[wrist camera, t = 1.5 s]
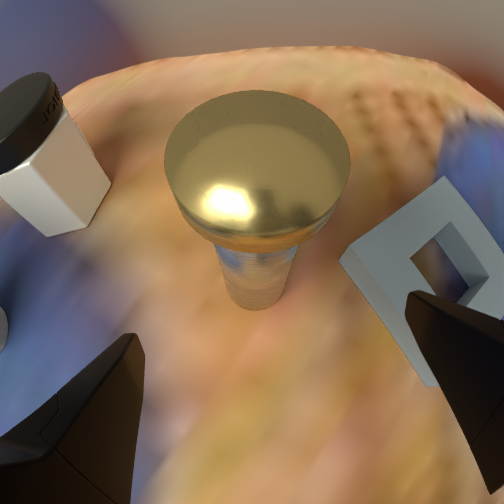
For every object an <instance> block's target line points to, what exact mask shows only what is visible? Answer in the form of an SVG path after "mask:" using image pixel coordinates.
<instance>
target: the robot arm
mask: <svg viewBox="0 0 504 504" xmlns="http://www.w3.org/2000/svg"><path fill="white" fill-rule="evenodd" d="M405 319H406V321H407V323H408V325H409V327H410V330H411V332H412V334H413V336H414V338H415V341H416V343H417V345H418V347H419V349H420V351H421V353H422V355H423V357H424V359H425V361H426V362H427V364H428V366H429V368H430V369H431V371H432V373H433V375H434V377H435V378H436V380H437V382H438V384H439V386H440V388H441V390H442V391H443V393H444V395H445V397H446V399H447V401H448V403H449V405H450V407H451V409H452V411H453V413H454V415H455V417H456V419H457V421H458V423H459V425H460V427H461V429H462V431H463V433H464V435H465V437H466V440H467V442H468V444H469V446H470V449H471V451H472V453H473V455H474V458H475V460H476V462H477V465H478V467H479V469H480V472H481V474H482V477H483V479H484V481H485V484H486V486H487V489H488V491H489V493H490V495H491V494H493V493H494V492H496V491H497V490H498V489H500V488H501V487H502V486H504V320H499V319H498V318H495V317H493V316H490V315H487V314H485V313H482V312H479V311H477V310H474V309H471V308H469V307H466V306H463V305H460V304H458V303H455V302H452V301H449V300H447V299H444V298H441V297H438V296H436V295H433V294H430V293H427V292H424V291H422V290H415V291H411V292H409V293H408V296H407V301H406V307H405ZM144 370H145V354H144V351H143V348H142V345H141V343H140V340H139V338H138V336H137V334H136V333H125V334H123V335H122V336H121V337H119V338H118V339H117V340H116V341H115V342H114V343H112V344H111V345H110V346H109V347H108V348H107V349H106V350H104V351H103V352H102V353H101V354H100V355H99V356H97V357H96V358H95V359H94V360H93V361H92V362H91V363H89V364H88V365H87V366H86V367H85V368H84V369H83V370H81V371H80V372H79V373H78V374H77V375H76V376H75V377H73V378H72V379H71V380H70V381H69V382H68V383H67V384H66V385H64V386H63V387H62V388H61V389H60V390H59V391H58V392H57V394H54V395H53V396H52V397H51V398H50V399H49V400H48V401H46V402H45V403H44V404H43V405H42V406H41V407H39V408H38V409H37V410H36V411H34V412H33V413H32V414H31V415H29V416H28V417H27V418H25V419H24V420H23V421H21V422H20V423H19V424H17V425H16V426H15V427H13V428H12V429H11V430H9V431H8V432H7V433H5V434H4V435H3V436H1V437H0V504H130V500H131V489H132V479H133V469H134V460H135V452H136V444H137V436H138V429H139V422H140V416H141V409H142V402H143V391H144Z"/></svg>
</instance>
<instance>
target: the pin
mask: <svg viewBox="0 0 504 504" xmlns="http://www.w3.org/2000/svg"><path fill="white" fill-rule="evenodd" d="M164 166H165V173H166V176H167V180H168V183H169V185H170V188H171V190H172V192H173V195H174V197H175V200H176V202H177V205H178V207H179V209H180V211H181V213H182V215H183V217H184V218H185V220H186V221H187V222H188V224H189V225H190V226H191V227H192V228H193V229H194V230H195V231H196V232H197V233H199V234H200V235H201V236H202V237H204V238H205V239H207V240H209V241H210V242H212V243H214V246H215V250H216V253H217V256H218V260H219V263H220V267H221V270H222V273H223V277H224V280H225V283H226V287H227V290H228V293H229V295H230V297H231V299H232V300H233V301H234V302H235V303H236V304H237V305H238V306H240V307H242V308H244V309H247V310H251V311H259V310H264V309H267V308H269V307H271V306H272V305H273V304H275V303H276V302H277V300H278V299H279V298H280V296H281V294H282V291H283V289H284V286H285V283H286V280H287V277H288V274H289V271H290V268H291V265H292V262H293V259H294V256H295V253H296V250H297V247H298V245H299V244H301V243H303V242H305V241H306V240H308V239H310V238H311V237H312V236H314V235H315V234H316V233H318V232H319V231H320V230H321V229H322V228H323V227H324V226H325V224H326V223H327V222H328V220H329V219H330V217H331V216H332V214H333V212H334V210H335V208H336V205H337V203H338V201H339V199H340V196H341V194H342V192H343V190H344V187H345V185H346V183H347V180H348V176H349V172H350V153H349V149H348V145H347V143H346V140H345V138H344V136H343V134H342V133H341V131H340V129H339V128H338V127H337V125H336V124H335V123H334V122H333V121H332V120H331V119H330V118H329V117H328V116H327V115H326V114H325V113H323V112H322V111H321V110H320V109H318V108H317V107H315V106H313V105H312V104H310V103H308V102H306V101H304V100H302V99H299V98H297V97H294V96H291V95H287V94H284V93H278V92H273V91H263V90H251V91H240V92H234V93H229V94H226V95H222V96H219V97H216V98H214V99H211V100H209V101H207V102H205V103H203V104H201V105H200V106H198V107H196V108H195V109H194V110H192V111H191V112H190V113H188V114H187V115H186V116H185V117H184V118H183V119H182V120H181V121H180V122H179V124H178V125H177V126H176V127H175V129H174V130H173V132H172V134H171V135H170V138H169V140H168V143H167V145H166V150H165V155H164Z"/></svg>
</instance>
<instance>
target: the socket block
mask: <svg viewBox="0 0 504 504" xmlns="http://www.w3.org/2000/svg"><path fill="white" fill-rule="evenodd" d="M433 237H434V239H435V240H436V241H437V243H438V244H439V245H440V247H441V248H442V249H443V251H444V252H445V253H446V255H447V256H448V258H449V259H450V260H451V262H452V263H453V265H454V266H455V267H456V269H457V270H458V272H459V273H460V275H461V276H462V278H463V279H464V281H465V282H466V284H467V285H468V287H469V289H468V290H467V291H466V292H465V293H464V295H463V296H462V297H461V298H460V299H459V300H458V302H457V303H458V304H460V305H463V306H466V307H469V308H471V309H474V310H477V311H479V312H482V313H485V314H487V315H490V316H493V317H495V318H498V319H499V320H501V318H502V317H503V315H504V254H503V252H502V251H501V249H500V248H499V246H498V245H497V243H496V242H495V240H494V239H493V237H492V236H491V234H490V233H489V232H488V230H487V229H486V227H485V226H484V225H483V223H482V222H481V221H480V219H479V218H478V217H477V215H476V214H475V213H474V211H473V210H472V209H471V207H470V206H469V205H468V204H467V202H466V201H465V200H464V199H463V197H462V196H461V195H460V194H459V192H458V191H457V190H456V189H455V188H454V186H453V185H452V184H451V183H450V182H449V181H448V179H447V178H446V177H445V176H443V177H442V178H440V179H439V180H438V181H436V182H435V183H434V184H432V185H431V186H430V187H428V188H427V189H426V190H425V191H423V192H422V193H421V194H419V195H418V196H417V197H415V198H414V199H413V200H411V201H410V202H408V203H407V204H406V205H404V206H403V207H402V208H400V209H399V210H398V211H396V212H395V213H394V214H392V215H391V216H389V217H388V218H387V219H385V220H384V221H382V222H381V223H380V224H378V225H377V226H376V227H374V228H373V229H371V230H370V231H368V232H367V233H366V234H364V235H363V236H361V237H360V238H359V239H357V240H356V241H354V242H353V243H351V244H350V245H349V246H348V248H347V249H346V250H345V252H344V253H343V255H342V256H341V258H340V259H339V260H338V262H339V263H340V265H341V266H342V267H343V268H344V270H345V271H346V272H347V274H348V275H349V276H350V278H351V279H352V280H353V282H354V283H355V285H356V286H357V287H358V289H359V290H360V291H361V293H362V294H363V295H364V297H365V298H366V300H367V301H368V302H369V304H370V305H371V306H372V308H373V309H374V311H375V312H376V313H377V315H378V316H379V318H380V319H381V321H382V322H383V323H384V325H385V326H386V328H387V329H388V331H389V332H390V333H391V335H392V336H393V338H394V339H395V341H396V342H397V344H398V345H399V347H400V348H401V350H402V351H403V352H404V354H405V355H406V357H407V358H408V360H409V361H410V363H411V364H412V366H413V368H414V369H415V371H416V372H417V374H418V375H419V377H420V378H421V380H422V381H423V383H424V384H425V386H426V387H440V386H439V384H438V382H437V380H436V378H435V377H434V375H433V373H432V371H431V369H430V368H429V366H428V364H427V362H426V361H425V359H424V357H423V355H422V353H421V351H420V349H419V347H418V345H417V343H416V341H415V338H414V336H413V334H412V332H411V330H410V327H409V325H408V323H407V321H406V319H405V307H406V301H407V296H408V293H409V292H411V291H415V290H422V291H424V292H427V293H430V294H433V295H436V294H435V293H434V291H433V290H432V288H431V287H430V285H429V284H428V283H427V281H426V280H425V278H424V277H423V276H422V274H421V273H420V271H419V270H418V269H417V267H416V266H415V265H414V263H413V262H412V261H411V259H410V257H411V256H412V255H414V254H415V253H416V252H417V251H418V250H419V249H420V248H422V247H423V246H424V245H425V244H426V243H427V242H428V241H429V240H430V239H431V238H433ZM436 296H437V295H436Z"/></svg>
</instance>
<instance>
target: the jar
mask: <svg viewBox="0 0 504 504" xmlns="http://www.w3.org/2000/svg"><path fill="white" fill-rule="evenodd" d="M110 186H111V182H110V180H109V179H108V177H107V175H106V174H105V172H104V171H103V169H102V168H101V166H100V164H99V163H98V161H97V160H96V158H95V156H94V152H93V150H92V149H91V147H90V145H89V144H88V142H87V140H86V138H85V137H84V135H83V133H82V132H81V130H80V128H79V127H78V125H77V124H76V122H74V121H73V119H72V118H71V116H70V114H69V112H68V111H67V109H66V108H65V106H64V104H63V100H62V98H61V96H60V94H59V90H58V88H57V86H56V84H55V82H53V81H52V79H51V77H50V76H49V75H48V74H47V73H44V72H36V73H32V74H29V75H27V76H24V77H22V78H20V79H18V80H17V81H15V82H13V83H12V84H10V85H9V86H8V87H7V88H5V89H4V90H3V91H1V92H0V197H1V198H2V199H3V200H5V201H6V202H7V203H8V204H9V205H10V206H11V207H12V208H13V209H14V210H16V211H17V212H18V213H19V214H20V215H21V216H22V217H24V218H25V219H26V220H27V221H28V222H29V223H31V224H32V225H33V226H34V227H35V228H36V229H38V230H39V231H40V232H41V233H42V234H44V235H45V236H46V237H51V236H54V235H58V234H62V233H66V232H70V231H74V230H78V229H82V228H86V227H87V226H88V225H89V223H90V221H91V219H92V218H93V216H94V214H95V212H96V210H97V209H98V207H99V205H100V203H101V202H102V200H103V198H104V196H105V195H106V193H107V191H108V190H109V188H110Z"/></svg>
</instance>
